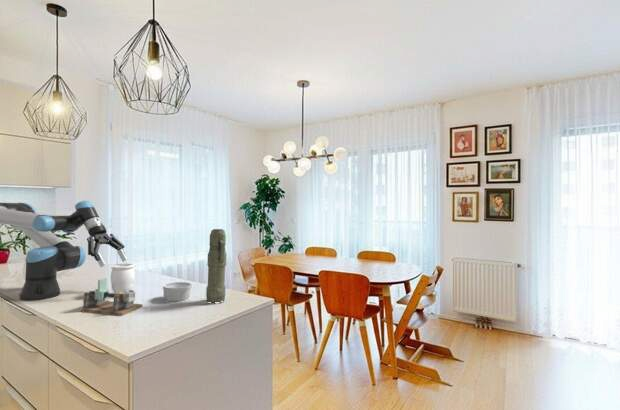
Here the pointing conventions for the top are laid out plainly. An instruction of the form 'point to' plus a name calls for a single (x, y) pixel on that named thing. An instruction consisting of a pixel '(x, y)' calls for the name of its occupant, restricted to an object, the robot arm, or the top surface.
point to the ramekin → (177, 291)
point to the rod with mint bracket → (110, 303)
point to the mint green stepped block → (101, 289)
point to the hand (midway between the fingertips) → (114, 263)
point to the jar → (122, 277)
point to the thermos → (216, 266)
